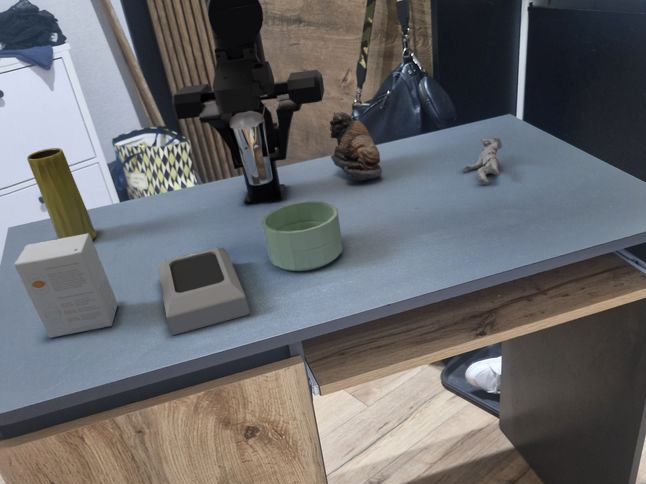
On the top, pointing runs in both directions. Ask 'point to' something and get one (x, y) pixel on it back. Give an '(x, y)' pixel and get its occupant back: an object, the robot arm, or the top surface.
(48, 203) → the vase
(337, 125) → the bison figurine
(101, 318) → the small box
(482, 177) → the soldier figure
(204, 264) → the grey flat block
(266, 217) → the sage green round tub
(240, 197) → the top surface
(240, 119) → the milkshake
